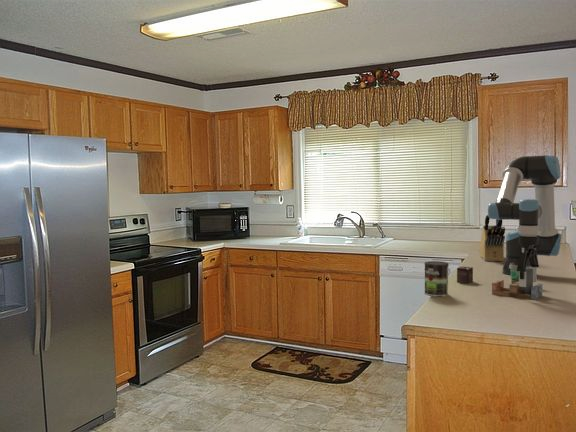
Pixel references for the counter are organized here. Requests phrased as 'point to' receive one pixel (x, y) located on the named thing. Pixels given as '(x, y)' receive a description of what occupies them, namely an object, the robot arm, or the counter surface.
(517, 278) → the food container
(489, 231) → the knife block
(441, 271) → the coffee can
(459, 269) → the box
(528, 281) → the plug
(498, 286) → the socket block
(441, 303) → the counter surface
